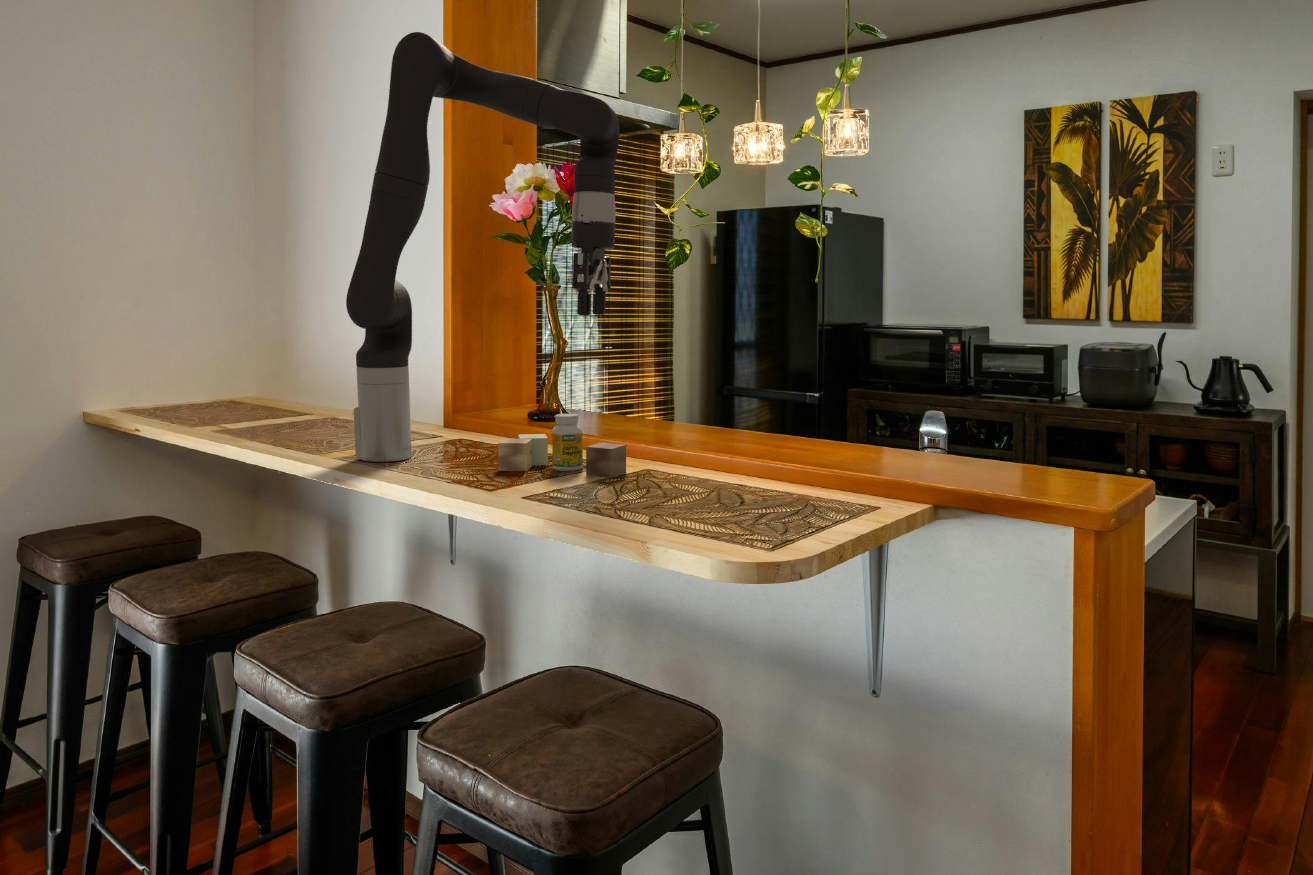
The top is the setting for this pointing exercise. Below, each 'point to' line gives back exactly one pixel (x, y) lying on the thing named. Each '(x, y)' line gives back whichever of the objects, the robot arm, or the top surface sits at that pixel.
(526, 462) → the oak block
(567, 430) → the supplement bottle
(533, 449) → the sage block
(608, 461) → the walnut block
